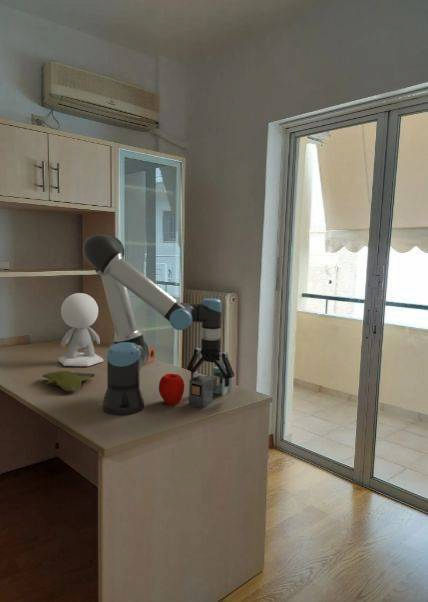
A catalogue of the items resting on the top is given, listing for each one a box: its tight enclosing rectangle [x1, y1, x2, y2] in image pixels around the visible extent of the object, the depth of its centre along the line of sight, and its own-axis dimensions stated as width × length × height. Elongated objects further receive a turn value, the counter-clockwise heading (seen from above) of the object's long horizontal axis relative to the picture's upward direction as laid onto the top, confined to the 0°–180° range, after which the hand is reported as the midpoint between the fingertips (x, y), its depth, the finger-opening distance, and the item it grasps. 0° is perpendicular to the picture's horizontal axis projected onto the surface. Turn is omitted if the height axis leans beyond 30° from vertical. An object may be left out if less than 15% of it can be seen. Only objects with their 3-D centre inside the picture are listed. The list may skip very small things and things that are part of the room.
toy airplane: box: [41, 370, 95, 392], centre depth 192 cm, size 28×22×5 cm
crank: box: [144, 345, 156, 366], centre depth 228 cm, size 20×8×8 cm, turn 161°
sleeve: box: [188, 375, 214, 409], centre depth 170 cm, size 7×6×10 cm
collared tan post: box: [192, 375, 220, 395], centre depth 173 cm, size 16×5×5 cm, turn 151°
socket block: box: [212, 365, 233, 396], centre depth 185 cm, size 6×6×11 cm
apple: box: [158, 373, 185, 406], centre depth 170 cm, size 10×10×12 cm
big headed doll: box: [57, 292, 105, 367], centre depth 227 cm, size 20×23×35 cm
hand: (209, 391), depth 176 cm, fingers open, 13 cm apart
